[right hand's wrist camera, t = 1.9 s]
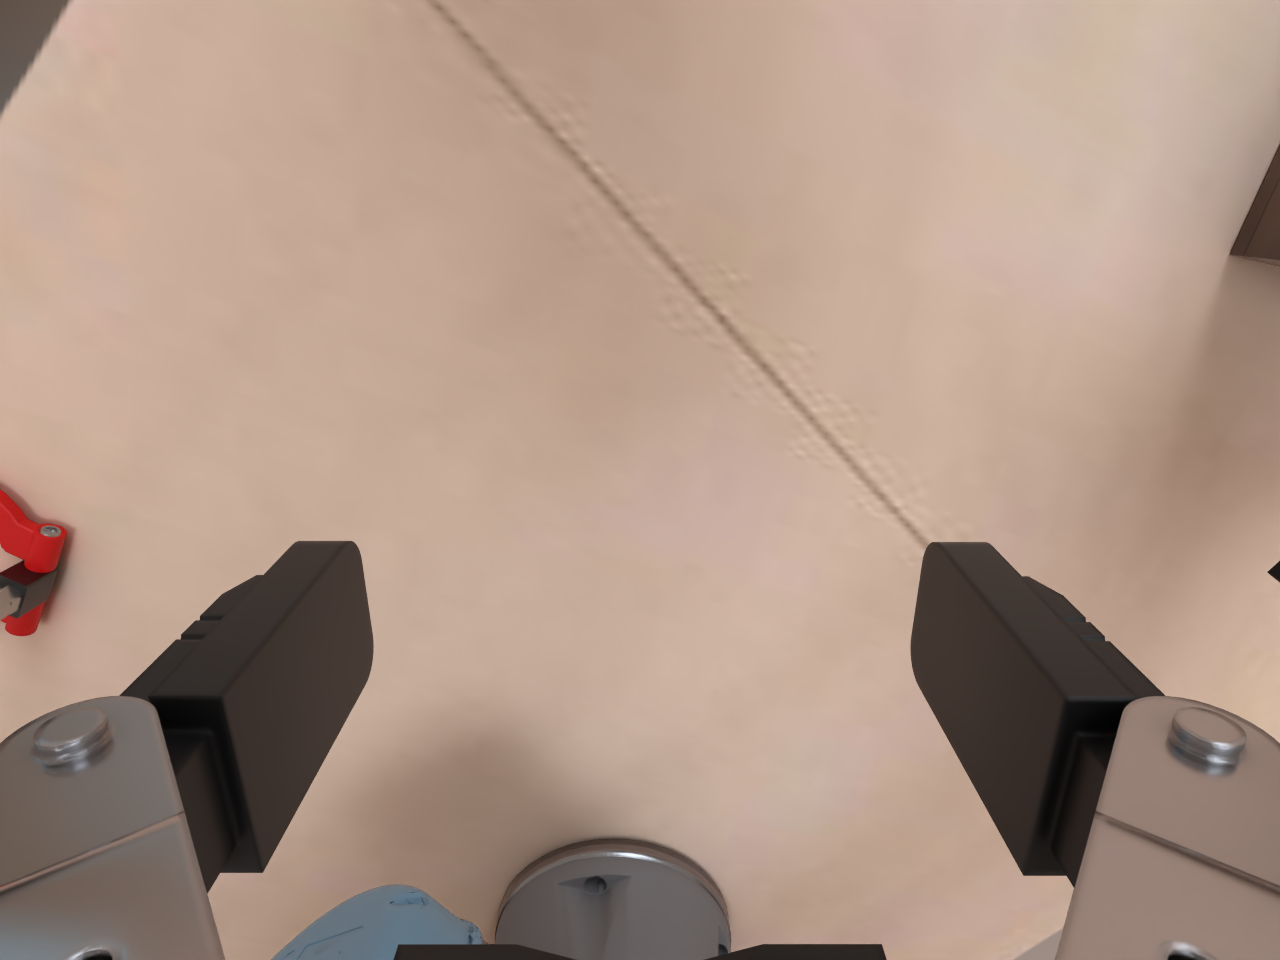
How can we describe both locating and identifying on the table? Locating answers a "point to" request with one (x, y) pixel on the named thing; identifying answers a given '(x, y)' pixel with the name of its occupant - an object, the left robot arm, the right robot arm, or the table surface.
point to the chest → (1263, 222)
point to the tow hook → (26, 567)
